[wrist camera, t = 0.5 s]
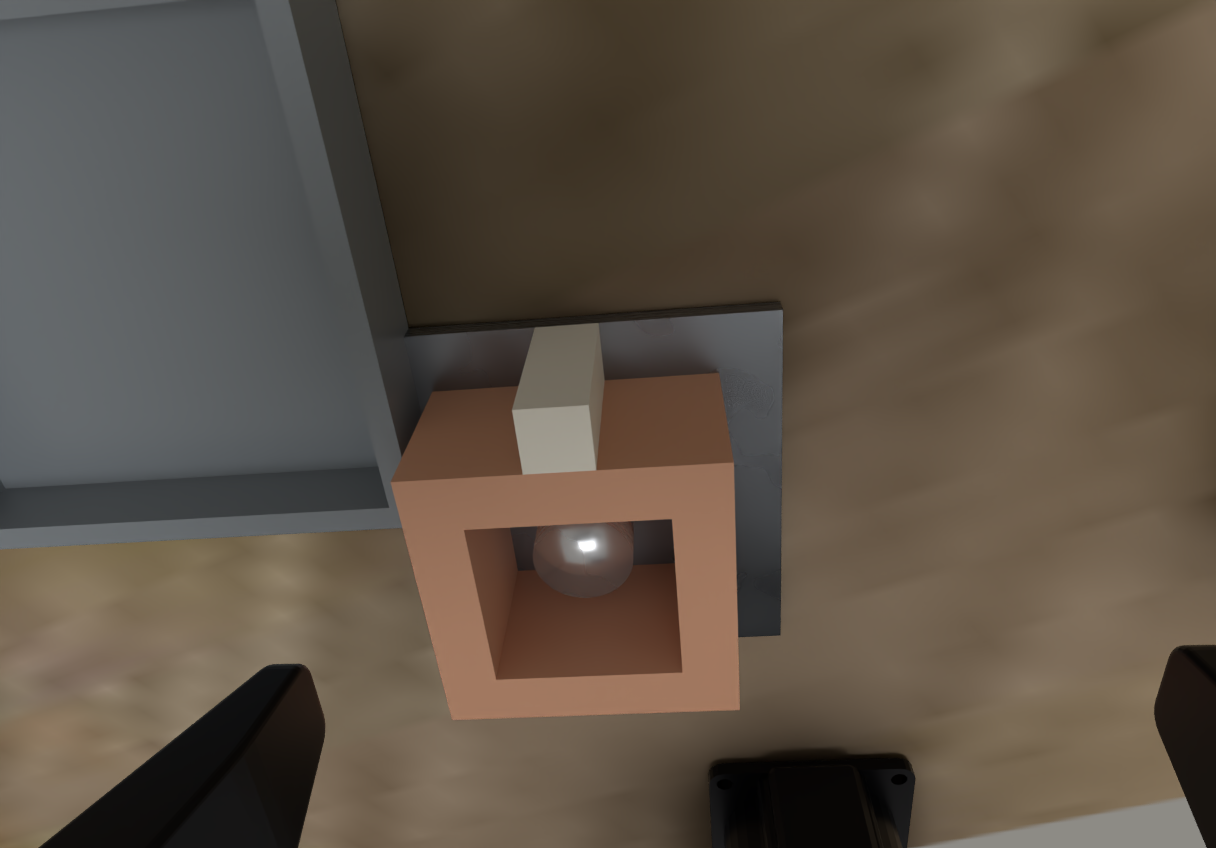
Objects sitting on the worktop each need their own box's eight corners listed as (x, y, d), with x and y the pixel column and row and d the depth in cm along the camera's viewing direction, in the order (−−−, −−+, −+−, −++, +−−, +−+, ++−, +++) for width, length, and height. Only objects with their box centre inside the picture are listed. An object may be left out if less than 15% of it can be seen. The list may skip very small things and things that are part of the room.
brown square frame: (726, 597, 24) (739, 710, 21) (479, 608, 25) (452, 719, 21) (717, 314, 20) (732, 396, 16) (420, 335, 20) (374, 418, 17)
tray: (440, 470, 23) (419, 527, 21) (8, 495, 24) (-56, 552, 22) (323, -52, 17) (276, -50, 15) (-248, 9, 18) (-371, 20, 16)
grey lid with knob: (778, 623, 25) (792, 700, 23) (441, 637, 26) (419, 713, 23) (780, 301, 20) (798, 354, 18) (364, 331, 21) (326, 386, 18)
